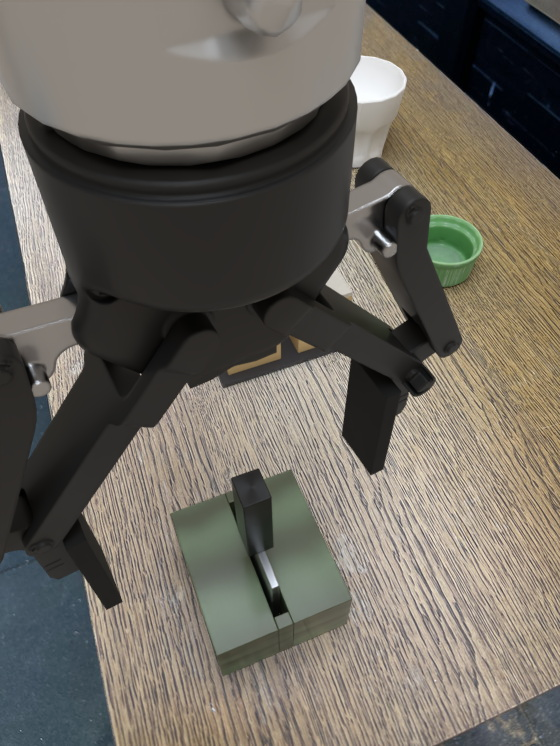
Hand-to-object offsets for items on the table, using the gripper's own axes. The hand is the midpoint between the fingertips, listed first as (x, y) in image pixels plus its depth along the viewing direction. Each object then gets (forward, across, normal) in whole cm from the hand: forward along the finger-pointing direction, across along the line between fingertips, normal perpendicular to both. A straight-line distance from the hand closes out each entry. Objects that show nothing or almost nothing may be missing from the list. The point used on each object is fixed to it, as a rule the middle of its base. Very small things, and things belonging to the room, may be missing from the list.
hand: (241, 512), depth 31 cm
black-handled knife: (+26, +3, +6) cm, 27 cm away
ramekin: (+27, +40, +30) cm, 57 cm away
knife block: (+26, +3, +6) cm, 27 cm away
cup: (+27, +44, +56) cm, 76 cm away
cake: (+26, +18, +33) cm, 46 cm away
